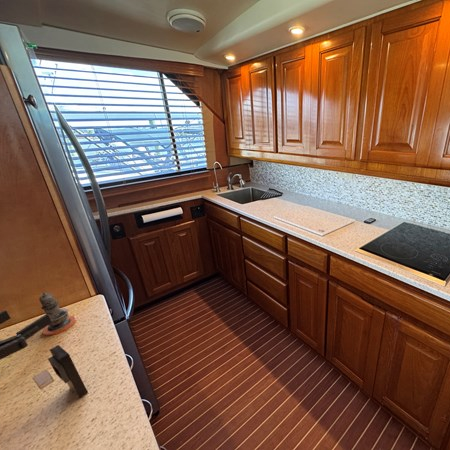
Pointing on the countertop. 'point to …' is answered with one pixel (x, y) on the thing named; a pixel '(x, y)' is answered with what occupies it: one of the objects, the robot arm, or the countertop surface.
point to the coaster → (73, 320)
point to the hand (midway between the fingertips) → (28, 316)
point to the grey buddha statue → (54, 312)
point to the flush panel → (67, 370)
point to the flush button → (43, 379)
